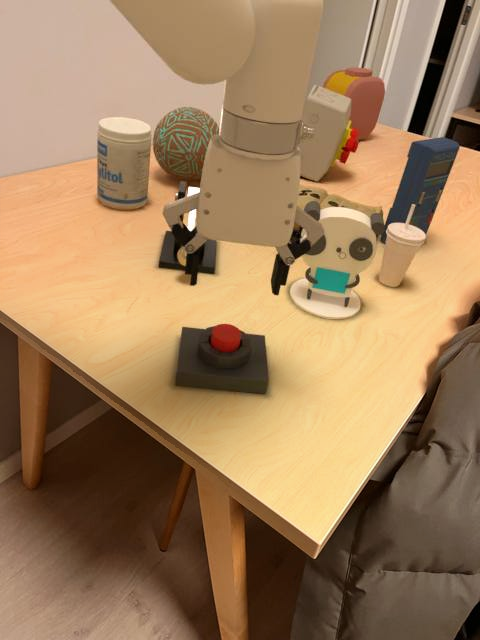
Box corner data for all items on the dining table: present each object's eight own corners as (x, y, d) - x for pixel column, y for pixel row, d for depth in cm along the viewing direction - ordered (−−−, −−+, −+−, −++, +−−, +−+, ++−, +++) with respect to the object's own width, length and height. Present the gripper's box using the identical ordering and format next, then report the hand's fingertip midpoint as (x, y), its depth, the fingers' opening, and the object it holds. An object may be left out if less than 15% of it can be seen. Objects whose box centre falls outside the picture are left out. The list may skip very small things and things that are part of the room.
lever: (196, 270, 82) (197, 262, 79) (175, 268, 81) (176, 259, 78) (204, 198, 86) (205, 187, 83) (184, 195, 86) (185, 184, 82)
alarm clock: (348, 129, 172) (364, 64, 161) (374, 140, 166) (393, 73, 154) (309, 133, 161) (324, 64, 150) (336, 145, 155) (354, 74, 144)
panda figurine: (282, 309, 80) (303, 218, 71) (288, 273, 89) (307, 188, 80) (361, 325, 79) (391, 236, 71) (358, 287, 89) (385, 204, 80)
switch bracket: (214, 274, 85) (223, 206, 79) (158, 267, 85) (162, 198, 78) (215, 242, 94) (224, 179, 88) (165, 236, 94) (169, 171, 87)
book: (378, 232, 108) (387, 205, 105) (362, 265, 95) (371, 236, 92) (265, 198, 114) (270, 172, 111) (235, 225, 101) (240, 196, 98)
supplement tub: (87, 203, 100) (86, 124, 91) (112, 187, 107) (113, 112, 99) (134, 216, 98) (136, 136, 90) (156, 199, 106) (160, 124, 97)
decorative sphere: (137, 171, 116) (140, 100, 108) (191, 162, 125) (198, 96, 117) (177, 197, 108) (184, 122, 100) (232, 186, 117) (242, 117, 109)
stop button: (209, 351, 64) (211, 339, 63) (210, 333, 66) (212, 322, 65) (239, 354, 64) (241, 343, 63) (239, 336, 67) (241, 325, 66)
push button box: (175, 385, 63) (177, 360, 61) (181, 339, 70) (183, 315, 68) (265, 394, 64) (271, 369, 62) (262, 348, 71) (267, 324, 69)
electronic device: (398, 251, 102) (435, 149, 91) (377, 240, 105) (410, 139, 94) (425, 242, 108) (463, 144, 96) (405, 231, 111) (439, 135, 99)
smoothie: (393, 270, 95) (419, 197, 87) (414, 289, 91) (444, 214, 83) (363, 272, 93) (388, 198, 85) (384, 292, 88) (411, 215, 80)
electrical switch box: (337, 196, 127) (373, 114, 116) (279, 173, 128) (309, 90, 116) (343, 177, 139) (376, 101, 127) (290, 156, 140) (318, 79, 128)
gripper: (340, 132, 54) (304, 276, 64) (171, 108, 53) (161, 259, 63) (354, 157, 48) (312, 311, 58) (163, 130, 47) (154, 293, 56)
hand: (234, 283), depth 60 cm, fingers open, 9 cm apart
